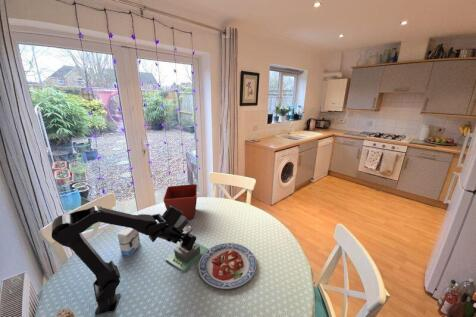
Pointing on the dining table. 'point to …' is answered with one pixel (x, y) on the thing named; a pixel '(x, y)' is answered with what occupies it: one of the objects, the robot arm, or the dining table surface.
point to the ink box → (128, 240)
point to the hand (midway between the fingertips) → (188, 239)
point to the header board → (186, 257)
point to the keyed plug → (186, 230)
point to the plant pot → (182, 199)
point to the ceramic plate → (227, 265)
